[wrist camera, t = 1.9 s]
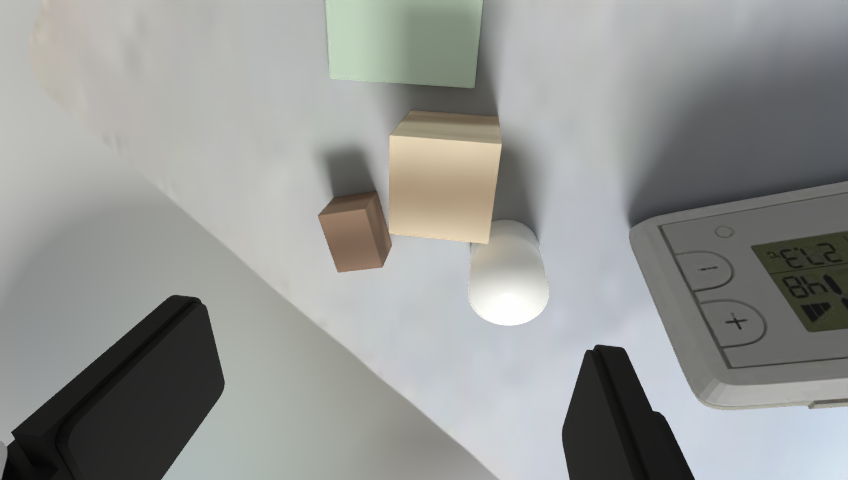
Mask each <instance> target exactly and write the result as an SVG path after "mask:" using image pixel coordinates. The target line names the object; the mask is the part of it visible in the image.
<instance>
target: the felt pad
mask: <svg viewBox="0 0 848 480" xmlns="http://www.w3.org/2000/svg"><path fill="white" fill-rule="evenodd" d="M325 3H326V20H327V37H328V54H329V70H330V79H343V80H358V81H372V82H387V83H402V84H417V85H432V86H447V87H462V88H474V87H475V77H476V67H477V57H478V47H479V37H480V27H481V16H482V6H483V0H325Z"/></svg>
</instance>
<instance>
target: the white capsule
mask: <svg viewBox="0 0 848 480" xmlns="http://www.w3.org/2000/svg"><path fill="white" fill-rule="evenodd" d="M468 298H469V302H470V304H471V306H472V308H473V309H474V310H475V312H476V313H477V314H478V315H480V316H481V317H482V318H484V319H485V320H487V321H490V322H492V323H495V324H500V325H518V324H522V323H525V322H528V321H530V320H532V319H533V318H535V317H536V316H537V315H539V314H540V313H541V312H542V311H543V309H544V308H545V306H546V304H547V302H548V298H549V287H548V282H547V278H546V274H545V270H544V265H543V261H542V257H541V252H540V248H539V244H538V240H537V238H536V236H535V234H534V233H533V231H532V230H531V229H530V228H528V227H527V226H526V225H524V224H522V223H520V222H517V221H513V220H498V221H494V222H491V227H490V234H489V242H488V244H483V243H473V242H472V244H471V254H470V269H469V284H468Z"/></svg>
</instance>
